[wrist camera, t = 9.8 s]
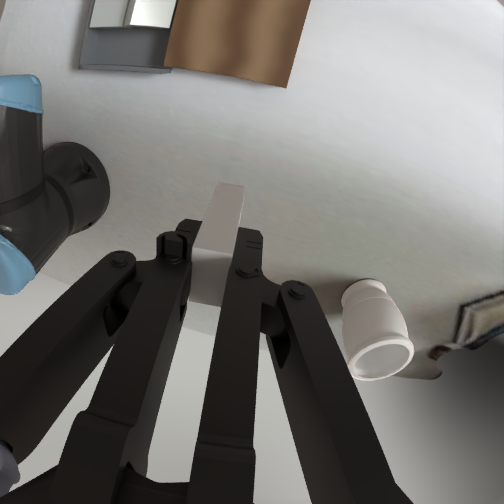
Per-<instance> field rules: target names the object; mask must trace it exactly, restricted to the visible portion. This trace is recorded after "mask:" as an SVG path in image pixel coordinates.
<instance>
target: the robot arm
mask: <svg viewBox="0 0 504 504" xmlns="http://www.w3.org/2000/svg"><path fill="white" fill-rule="evenodd" d="M43 113H44V110H43V109H42V86H41V82H40V80H39V79H38V78H37V77H36V76H34V75H30V74H24V75H6V76H0V293H1V294H5V295H13V294H17V293H18V292H20V291H21V290H22V289H23V288H24V287H25V286H26V285H27V284H28V283H29V281H31V280H33V279H34V278H35V276H36V274H37V273H38V272H39V271H40V269H41V268H42V267H43V266H44V264H45V263H46V262H47V261H48V259H49V258H50V257H51V256H52V255H53V253H54V252H55V251H56V250H57V249H58V248H59V246H60V245H61V244H62V243H63V242H64V241H65V239H66V238H67V237H68V236H71V235H73V234H76V233H78V232H80V231H83V230H85V229H88V228H89V227H91V226H92V225H94V224H95V223H96V222H97V221H98V220H99V219H100V218H101V216H102V215H103V214H104V212H105V211H106V209H107V206H108V203H109V198H110V186H109V180H108V176H107V174H106V171H105V169H104V167H103V165H102V163H101V162H100V160H99V159H98V158H97V157H96V155H95V154H94V153H93V152H91V151H90V150H89V149H88V148H86V147H84V146H83V145H80V144H78V143H74V142H63V143H59V144H57V145H55V146H53V147H51V148H49V149H47V150H46V151H45V152H44V153H43V143H42V114H43ZM245 190H246V187H245V186H240V185H234V184H228V183H222V182H219V183H218V186H217V188H216V190H215V193H214V195H213V197H212V200H211V202H210V205H209V207H208V210H207V212H206V214H205V217H204V219H203V221H197V220H191V219H185V220H183V221H182V222H180V223H179V224H178V226H177V228H176V230H175V231H169V232H164V233H162V234H160V235H159V236H158V237H157V256H156V258H155V259H153V260H148V261H136V258H135V256H134V255H133V254H132V253H130V252H128V251H114V252H111V253H109V254H107V255H106V256H105V257H104V258H102V259H101V260H100V261H99V262H98V263H97V264H96V265H94V266H93V267H92V268H91V269H90V270H89V271H88V272H87V273H85V274H84V275H83V276H82V277H81V278H80V279H79V280H78V281H77V282H75V283H74V284H73V285H72V286H71V287H70V288H69V289H68V290H67V291H66V292H65V293H64V294H62V295H61V296H60V297H59V298H58V299H57V300H56V301H55V302H54V303H53V304H52V305H51V306H50V307H49V308H48V309H47V310H46V311H45V312H44V313H43V314H42V315H41V316H40V317H38V319H36V320H35V322H33V324H31V325H30V327H29V328H28V329H27V330H26V331H25V332H24V333H23V334H22V335H21V336H20V337H19V338H18V339H17V340H16V341H15V342H14V343H13V344H12V345H11V346H10V347H9V348H8V349H7V350H6V352H5V353H4V354H3V355H2V356H1V357H0V504H254V503H253V492H254V479H255V478H254V477H255V461H256V455H255V450H254V448H253V435H254V421H255V405H256V389H257V374H258V373H257V372H258V356H259V340H260V332H261V333H264V334H266V340H267V344H268V348H269V351H270V355H271V359H272V362H273V366H274V369H275V373H276V377H277V380H278V384H279V388H280V392H281V395H282V399H283V403H284V406H285V410H286V413H287V417H288V421H289V424H290V428H291V432H292V435H293V439H294V442H295V446H296V449H297V453H298V456H299V460H300V464H301V467H302V471H303V474H304V478H305V481H306V485H307V488H308V492H309V495H310V499H311V502H312V504H413V502H412V501H411V500H410V499H409V498H408V497H407V496H406V494H404V492H403V491H402V490H401V489H400V488H399V486H397V484H396V483H395V481H394V478H393V476H392V473H391V470H390V468H389V465H388V463H387V460H386V458H385V455H384V453H383V450H382V448H381V445H380V443H379V440H378V438H377V435H376V433H375V431H374V428H373V426H372V423H371V421H370V418H369V416H368V413H367V411H366V409H365V406H364V404H363V401H362V399H361V397H360V394H359V392H358V390H357V387H356V385H355V383H354V380H353V378H352V376H351V373H350V371H349V369H348V366H347V364H346V362H345V360H344V357H343V355H342V353H341V351H340V348H339V346H338V344H337V342H336V339H335V337H334V335H333V333H332V330H331V328H330V326H329V324H328V322H327V319H326V317H325V315H324V313H323V311H322V309H321V306H320V304H319V302H318V300H317V298H316V296H315V294H314V292H313V290H312V289H311V287H309V286H308V285H307V284H305V283H302V282H300V281H294V280H291V281H286V282H284V283H283V284H282V285H281V286H280V285H278V284H275V283H273V282H271V281H270V280H268V279H267V278H266V277H265V276H264V275H263V272H262V269H261V267H262V248H263V236H262V235H261V233H260V231H258V230H253V229H247V228H242V227H239V223H240V218H241V212H242V206H243V201H244V195H245ZM188 296H189V301H192V302H197V303H202V304H208V305H213V306H219V307H221V311H220V316H219V322H218V327H217V332H216V337H215V343H214V348H213V354H212V359H211V364H210V370H209V375H208V381H207V387H206V392H205V397H204V403H203V409H202V414H201V420H200V426H199V432H198V437H197V441H196V446H195V451H194V457H193V463H192V469H191V475H190V481H189V482H178V483H158V482H154V481H152V480H150V479H148V478H146V474H147V467H148V453H149V448H150V444H151V440H152V436H153V432H154V428H155V423H156V419H157V415H158V412H159V408H160V404H161V400H162V396H163V392H164V389H165V385H166V381H167V377H168V374H169V370H170V366H171V362H172V359H173V355H174V352H175V348H176V344H177V341H178V338H179V334H180V331H181V327H182V324H183V320H184V317H185V314H186V310H187V300H188ZM114 343H115V344H114ZM113 345H114V346H113ZM112 346H113V348H112V350H111V353H110V356H109V357H108V360H107V362H106V364H105V367H104V369H103V372H102V374H101V377H100V379H99V381H98V384H97V386H96V390H95V391H94V394H93V397H92V399H91V402H90V404H89V407H88V408H87V409H86V410H85V411H80V412H79V413H78V414H77V416H76V417H75V419H74V421H73V424H72V426H71V429H70V432H69V435H68V437H67V440H66V443H65V446H64V449H63V452H62V455H61V458H60V461H59V464H58V465H56V466H55V467H53V468H51V469H49V470H48V471H46V472H44V473H43V474H41V475H39V476H37V477H36V478H34V479H32V480H31V481H29V482H27V483H25V484H23V485H22V486H20V487H18V488H16V489H15V490H13V491H11V492H9V490H10V488H11V486H12V485H13V484H16V483H18V482H19V480H20V473H19V471H18V464H19V463H21V462H22V461H23V460H24V459H26V457H28V456H29V455H30V453H32V452H33V450H34V449H35V448H36V447H37V445H38V444H39V443H40V441H41V440H42V439H43V437H44V436H45V434H46V433H47V432H48V430H49V429H50V427H51V426H52V424H53V423H54V422H55V420H56V419H57V418H58V416H59V415H60V414H61V412H62V411H63V410H64V408H65V407H66V406H67V404H68V403H69V401H70V400H71V399H72V398H73V396H74V395H75V394H76V392H77V391H78V390H79V388H80V387H81V386H82V384H83V383H84V382H85V380H86V379H87V378H88V376H89V375H90V374H91V373H92V371H93V370H94V369H95V367H96V366H97V365H98V364H99V362H100V361H101V360H102V359H103V357H104V356H105V355H106V353H107V352H108V351H109V350H110V348H111V347H112Z"/></svg>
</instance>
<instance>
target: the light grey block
mask: <svg viewBox="0 0 504 504" xmlns="http://www.w3.org/2000/svg"><path fill="white" fill-rule="evenodd" d="M128 4H129V0H95V4H94V9H93V13H92V17H91V22H90V27H91V28H101V29H108V28H134V27H129V26H123V25H124V21H125V16H126V12H127V8H128Z"/></svg>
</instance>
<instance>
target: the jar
mask: <svg viewBox="0 0 504 504" xmlns="http://www.w3.org/2000/svg"><path fill="white" fill-rule="evenodd" d="M341 303H342V307H343V313H342V338H343V344H344V348H345V351H346V354H347V356H348V358H349V360H348V369H349V371H350V373H351V376H353V377H354V378H356V379H359V380H365V381H372V380H379V379H383V378H386V377H389V376H391V375H393V374H395V373H397V372H399V371H400V370H402V369H403V368H404V367H406V366H407V365H408V364H409V362H410V361H411V360H412V358H413V356H414V346H413V344H412V342H411V341H410V340H409V339H408V332H407V327H406V324H405V321H404V318H403V316H402V314H401V312H400V311H399V309H398V308H397V306H396V305H395V303H394V302H393V300H392V299H391V297H390V296H389V295H388V294H387V293H386V289H385V287H384V285H383V284H382V283H380V282H379V281H376V280H371V279H367V280H361V281H358V282H356V283H354V284H352V285H351V286H349V287H348V288H347V289H346V291H345V292H344V293H343V296H342V299H341Z"/></svg>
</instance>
